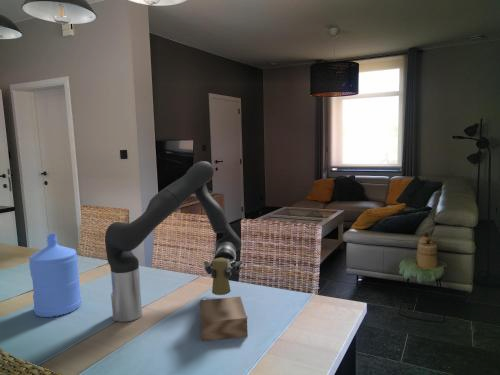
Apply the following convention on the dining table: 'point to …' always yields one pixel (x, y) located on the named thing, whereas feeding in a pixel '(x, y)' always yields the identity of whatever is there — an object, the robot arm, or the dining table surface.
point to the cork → (220, 277)
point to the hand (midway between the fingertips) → (220, 275)
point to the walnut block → (223, 318)
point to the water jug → (55, 279)
